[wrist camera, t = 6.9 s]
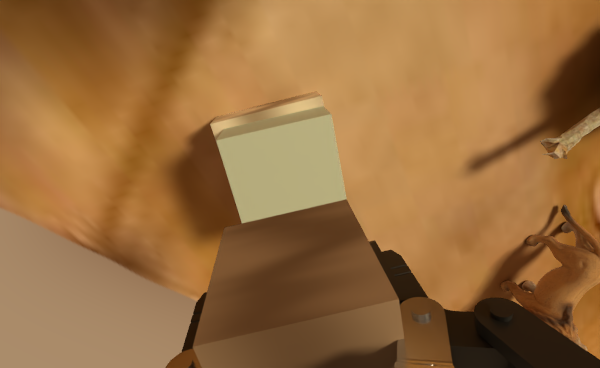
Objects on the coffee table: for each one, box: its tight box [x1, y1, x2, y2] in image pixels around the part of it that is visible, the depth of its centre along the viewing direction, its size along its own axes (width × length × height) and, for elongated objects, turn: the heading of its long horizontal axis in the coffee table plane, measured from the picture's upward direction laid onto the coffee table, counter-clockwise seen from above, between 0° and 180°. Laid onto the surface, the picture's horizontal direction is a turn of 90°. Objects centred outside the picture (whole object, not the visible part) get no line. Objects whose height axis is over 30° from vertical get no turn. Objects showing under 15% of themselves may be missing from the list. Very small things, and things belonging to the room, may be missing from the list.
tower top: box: [216, 106, 347, 223], centre depth 27 cm, size 8×8×4 cm
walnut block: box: [193, 199, 404, 368], centre depth 12 cm, size 5×5×6 cm
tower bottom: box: [210, 91, 324, 158], centre depth 30 cm, size 9×9×4 cm
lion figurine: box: [501, 205, 600, 351], centre depth 34 cm, size 15×5×9 cm, turn 170°
